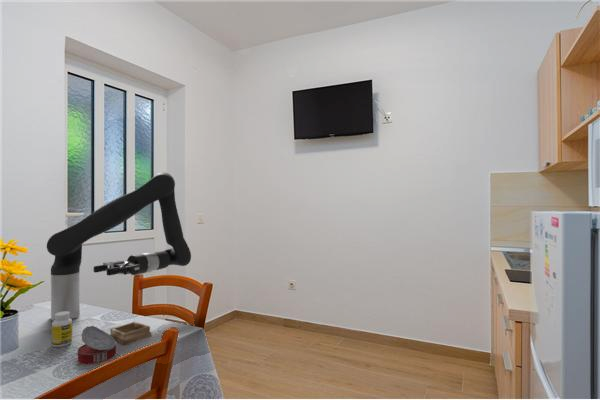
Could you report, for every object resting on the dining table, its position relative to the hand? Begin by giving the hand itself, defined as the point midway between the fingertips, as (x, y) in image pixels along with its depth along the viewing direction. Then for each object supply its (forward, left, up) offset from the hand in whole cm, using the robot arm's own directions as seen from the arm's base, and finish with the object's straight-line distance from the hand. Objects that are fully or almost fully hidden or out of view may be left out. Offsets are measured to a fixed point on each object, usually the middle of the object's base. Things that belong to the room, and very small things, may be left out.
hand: (100, 271), depth 123 cm
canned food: (+18, -10, -21) cm, 30 cm away
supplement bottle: (0, -12, -21) cm, 25 cm away
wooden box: (+13, +3, -21) cm, 25 cm away
